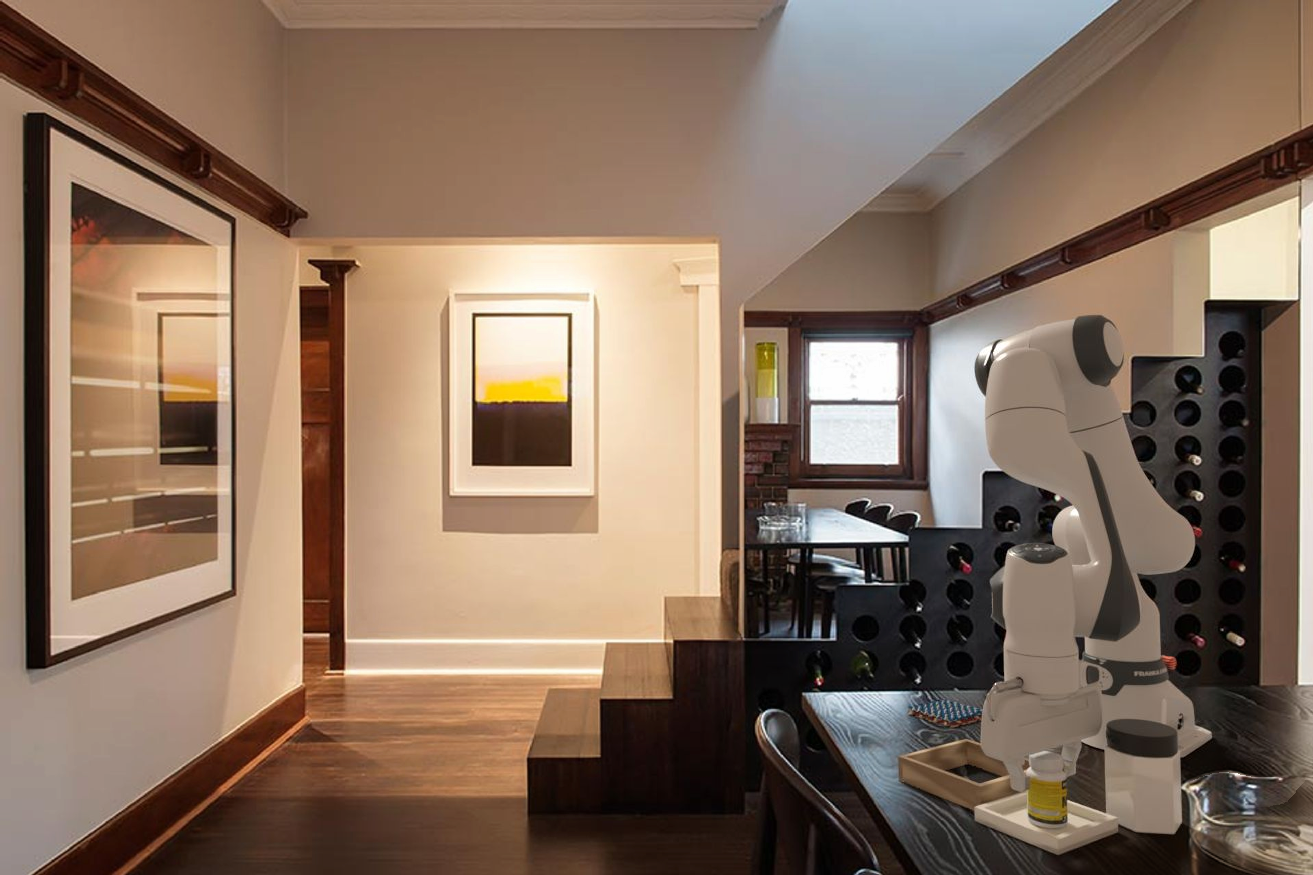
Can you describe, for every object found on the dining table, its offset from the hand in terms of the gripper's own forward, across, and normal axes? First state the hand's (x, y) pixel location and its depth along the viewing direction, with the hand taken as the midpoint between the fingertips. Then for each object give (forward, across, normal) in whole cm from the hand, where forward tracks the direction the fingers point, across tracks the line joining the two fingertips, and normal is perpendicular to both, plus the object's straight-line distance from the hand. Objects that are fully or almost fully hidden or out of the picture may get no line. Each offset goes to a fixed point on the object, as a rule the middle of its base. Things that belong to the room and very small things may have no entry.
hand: (1043, 781), depth 115 cm
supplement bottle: (+5, 0, 0) cm, 5 cm away
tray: (+6, 0, 0) cm, 6 cm away
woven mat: (+6, +28, +40) cm, 49 cm away
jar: (+6, +12, -6) cm, 14 cm away
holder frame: (+6, +4, +14) cm, 16 cm away
